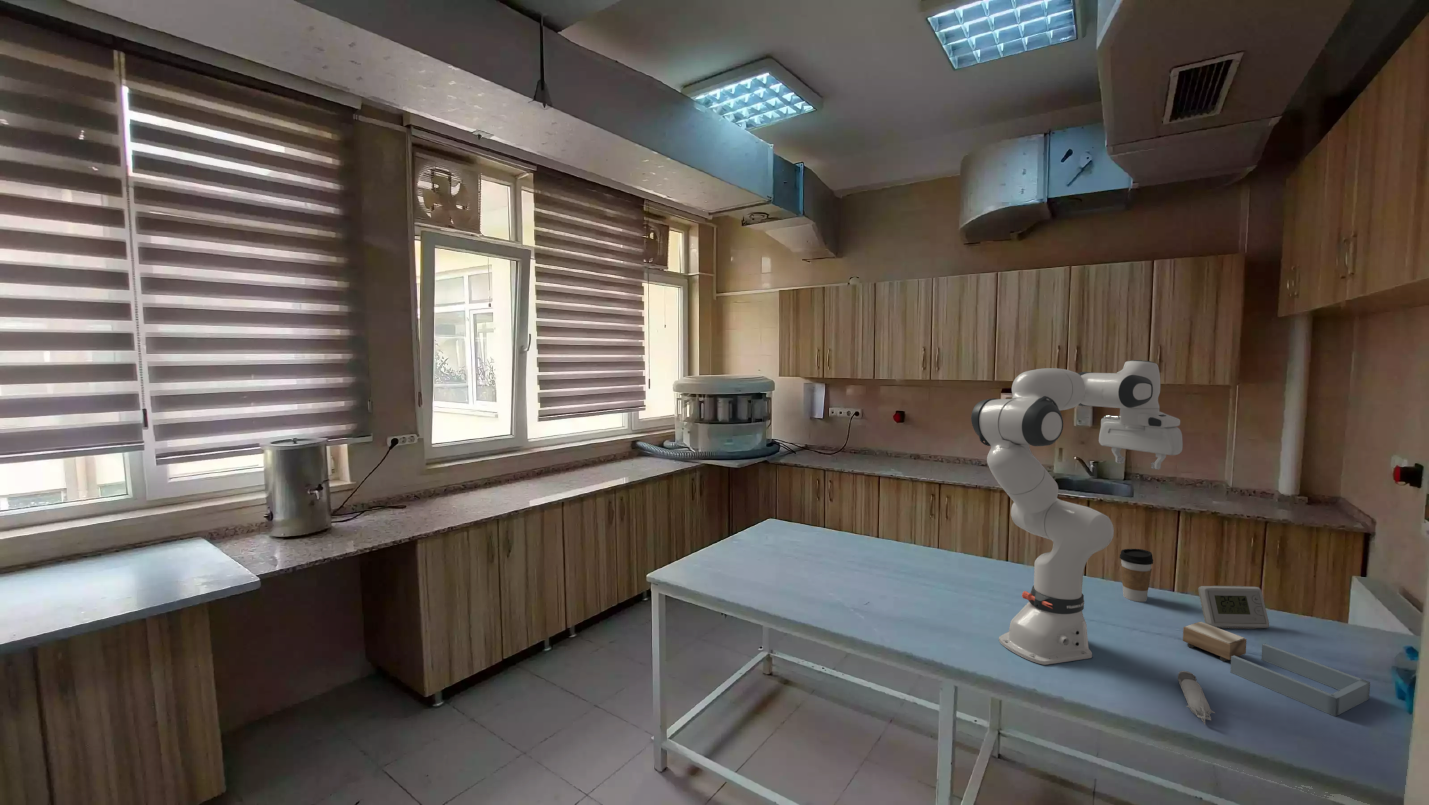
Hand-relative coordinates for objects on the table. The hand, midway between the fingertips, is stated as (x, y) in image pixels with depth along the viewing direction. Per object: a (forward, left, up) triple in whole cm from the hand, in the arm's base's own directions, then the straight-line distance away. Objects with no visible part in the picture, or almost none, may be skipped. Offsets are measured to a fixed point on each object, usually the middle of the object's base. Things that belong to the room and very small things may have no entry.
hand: (1137, 465), depth 157 cm
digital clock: (+21, -14, -46) cm, 52 cm away
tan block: (0, -20, -45) cm, 49 cm away
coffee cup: (+15, +8, -46) cm, 49 cm away
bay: (0, -36, -45) cm, 58 cm away
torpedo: (-28, -30, -46) cm, 61 cm away
